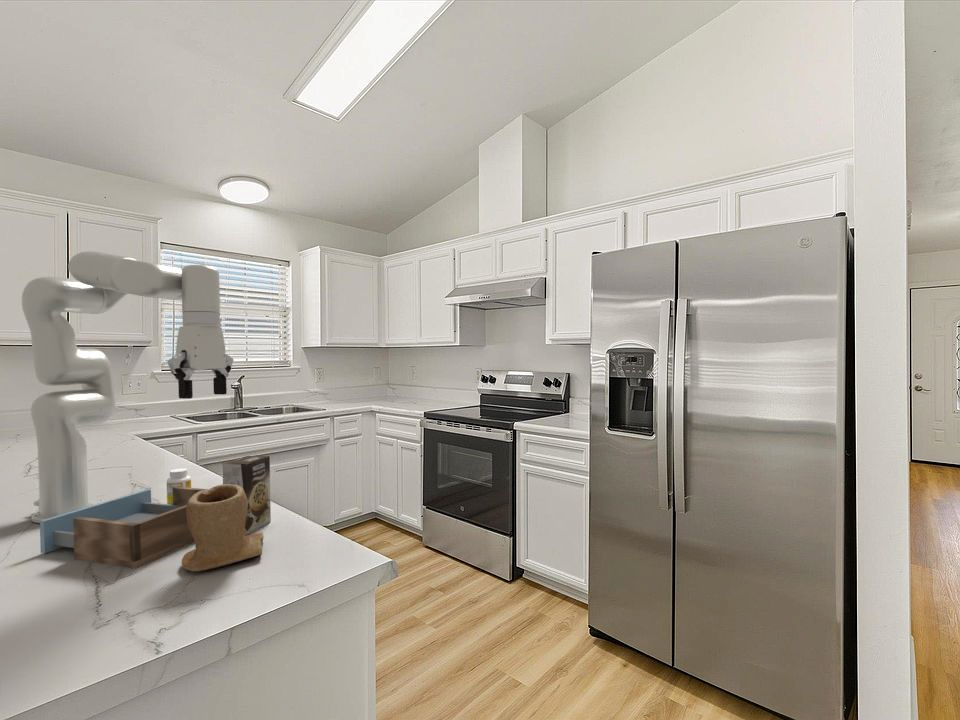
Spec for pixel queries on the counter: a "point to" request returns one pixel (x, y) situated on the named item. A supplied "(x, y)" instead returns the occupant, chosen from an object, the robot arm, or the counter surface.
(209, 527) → the stone cup
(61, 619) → the counter surface
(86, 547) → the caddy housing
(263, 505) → the coffee box
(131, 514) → the tray
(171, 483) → the supplement bottle
